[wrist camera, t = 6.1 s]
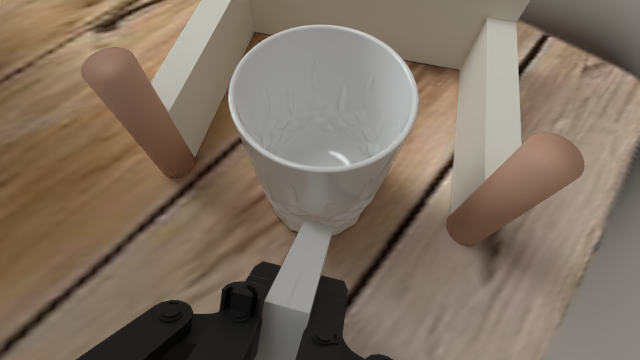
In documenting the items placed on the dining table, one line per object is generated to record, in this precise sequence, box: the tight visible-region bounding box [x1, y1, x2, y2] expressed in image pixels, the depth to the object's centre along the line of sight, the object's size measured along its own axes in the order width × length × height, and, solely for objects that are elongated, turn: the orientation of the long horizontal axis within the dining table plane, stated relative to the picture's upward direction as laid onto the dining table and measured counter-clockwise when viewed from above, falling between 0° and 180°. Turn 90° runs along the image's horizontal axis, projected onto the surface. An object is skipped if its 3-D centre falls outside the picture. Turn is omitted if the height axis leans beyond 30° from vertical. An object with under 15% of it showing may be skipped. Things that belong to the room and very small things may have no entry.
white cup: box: [228, 25, 419, 236], centre depth 18 cm, size 8×8×10 cm
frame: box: [81, 0, 584, 245], centre depth 22 cm, size 17×22×9 cm
